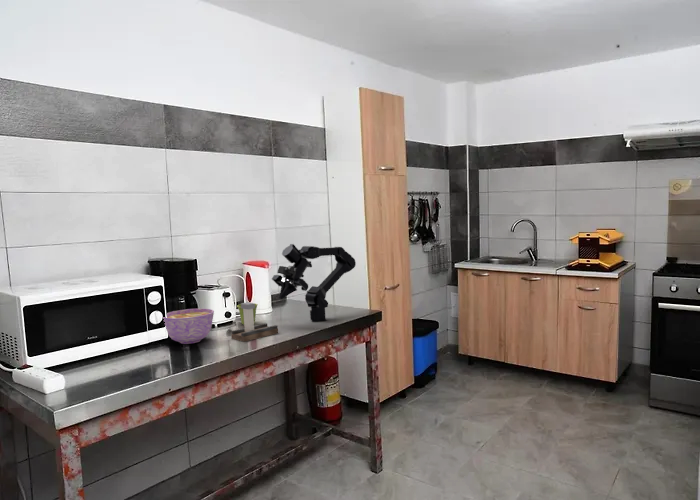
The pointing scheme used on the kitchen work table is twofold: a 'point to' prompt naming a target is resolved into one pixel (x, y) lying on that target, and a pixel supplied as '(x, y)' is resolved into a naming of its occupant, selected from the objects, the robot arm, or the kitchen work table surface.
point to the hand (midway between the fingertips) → (280, 298)
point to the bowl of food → (189, 325)
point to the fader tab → (248, 316)
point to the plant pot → (243, 313)
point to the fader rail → (254, 332)
